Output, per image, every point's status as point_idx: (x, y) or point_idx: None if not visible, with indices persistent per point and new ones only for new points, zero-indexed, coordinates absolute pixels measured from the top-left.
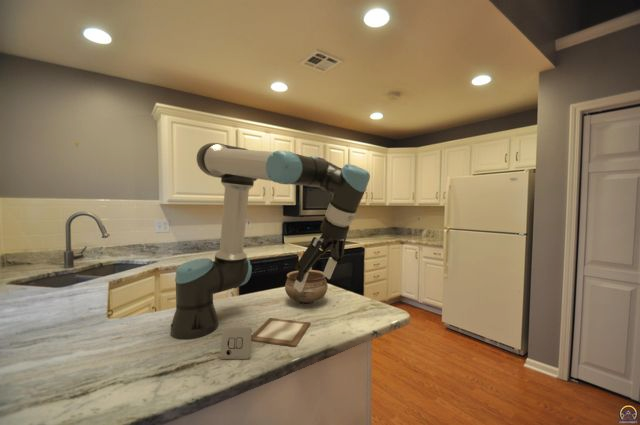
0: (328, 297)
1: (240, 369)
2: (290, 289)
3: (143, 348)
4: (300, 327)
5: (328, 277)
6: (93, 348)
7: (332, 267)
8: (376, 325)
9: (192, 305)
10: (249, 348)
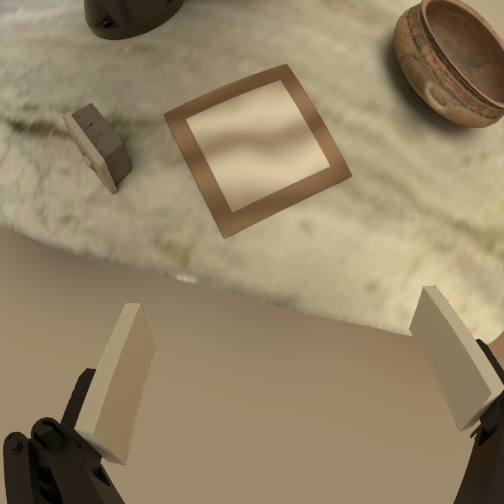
0: None
1: (84, 213)
2: (402, 36)
3: (48, 33)
4: (308, 174)
5: (414, 330)
6: (28, 8)
7: (445, 389)
8: None
9: None
10: (107, 186)
